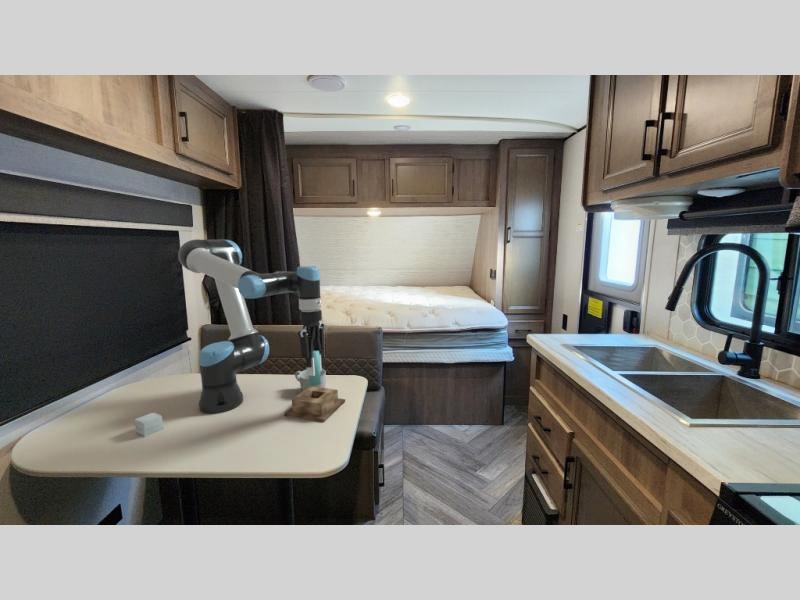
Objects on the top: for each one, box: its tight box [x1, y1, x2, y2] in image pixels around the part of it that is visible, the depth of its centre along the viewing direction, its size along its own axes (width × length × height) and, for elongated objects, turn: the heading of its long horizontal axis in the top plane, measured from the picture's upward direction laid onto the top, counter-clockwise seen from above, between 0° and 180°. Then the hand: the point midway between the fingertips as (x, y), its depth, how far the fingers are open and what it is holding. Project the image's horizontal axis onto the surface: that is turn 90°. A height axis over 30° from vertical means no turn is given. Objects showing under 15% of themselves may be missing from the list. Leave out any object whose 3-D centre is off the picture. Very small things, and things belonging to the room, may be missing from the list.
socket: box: [283, 386, 346, 423], centre depth 126 cm, size 16×16×6 cm
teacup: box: [294, 368, 327, 392], centre depth 142 cm, size 14×11×8 cm
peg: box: [309, 349, 321, 386], centre depth 124 cm, size 4×4×12 cm
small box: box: [134, 412, 164, 438], centre depth 112 cm, size 6×6×5 cm
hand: (314, 372), depth 124 cm, fingers closed on peg, 4 cm apart
